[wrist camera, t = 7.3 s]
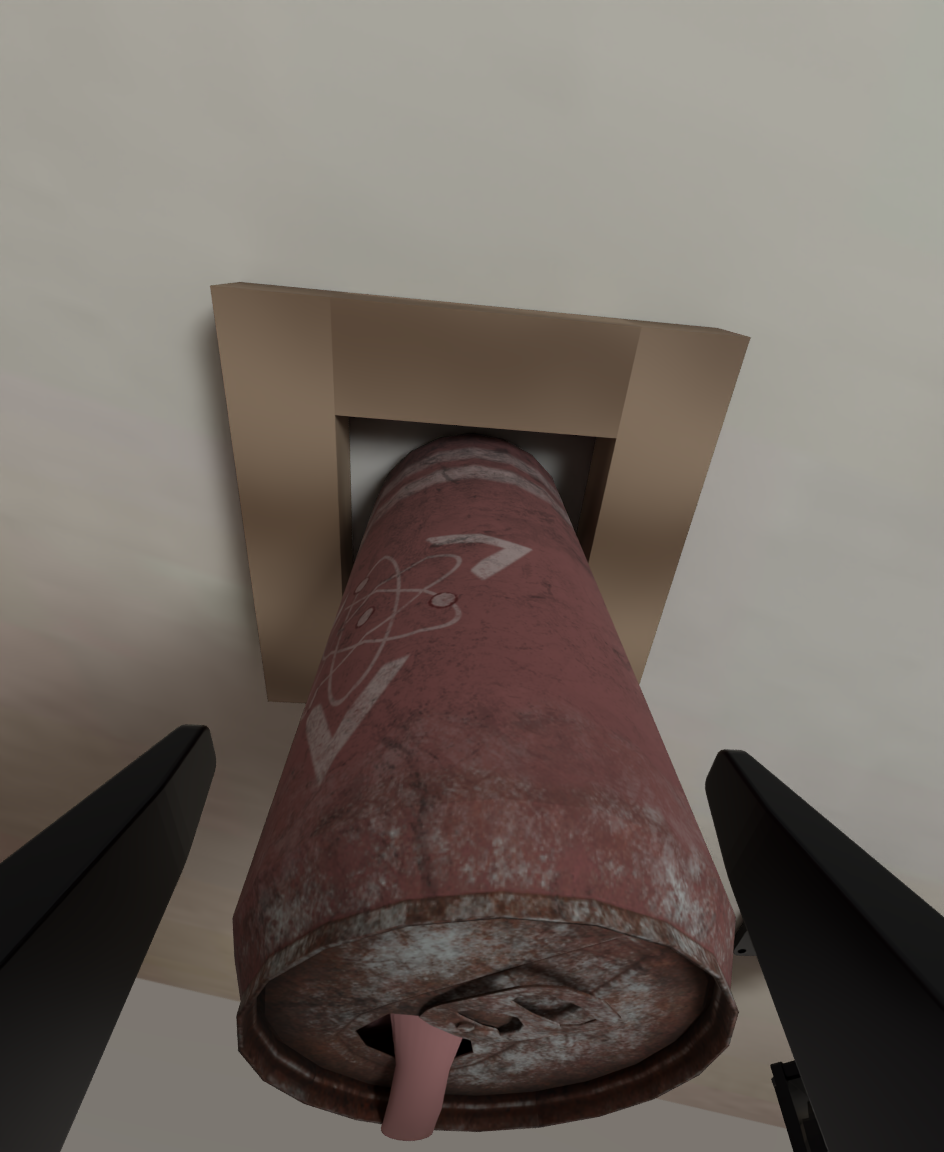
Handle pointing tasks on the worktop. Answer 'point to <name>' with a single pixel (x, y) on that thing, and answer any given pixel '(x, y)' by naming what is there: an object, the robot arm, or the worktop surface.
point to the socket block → (468, 398)
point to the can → (479, 836)
